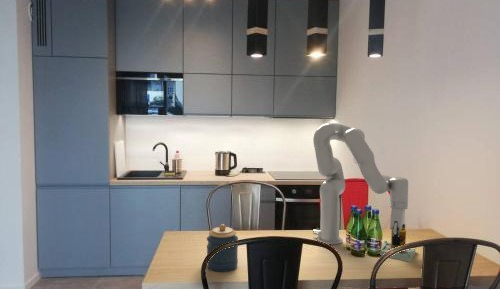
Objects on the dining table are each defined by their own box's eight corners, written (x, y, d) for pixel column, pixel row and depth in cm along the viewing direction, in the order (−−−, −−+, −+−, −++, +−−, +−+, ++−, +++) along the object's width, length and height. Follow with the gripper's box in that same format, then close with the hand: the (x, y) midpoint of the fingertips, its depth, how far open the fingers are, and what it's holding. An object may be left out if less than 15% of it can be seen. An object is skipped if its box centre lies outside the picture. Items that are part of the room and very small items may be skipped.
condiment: (397, 252, 157) (398, 226, 157) (384, 246, 165) (385, 221, 165) (410, 250, 160) (411, 224, 159) (396, 244, 168) (397, 219, 167)
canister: (207, 273, 138) (208, 229, 137) (205, 260, 151) (205, 220, 150) (240, 271, 141) (240, 228, 139) (235, 258, 153) (235, 219, 152)
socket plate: (377, 254, 160) (377, 248, 160) (384, 246, 172) (384, 240, 171) (410, 261, 152) (410, 255, 152) (415, 252, 164) (415, 246, 164)
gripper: (393, 200, 170) (392, 236, 171) (386, 207, 155) (384, 246, 156) (410, 202, 166) (409, 239, 167) (404, 209, 151) (402, 250, 152)
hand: (397, 242), depth 162 cm, fingers closed on condiment, 6 cm apart
